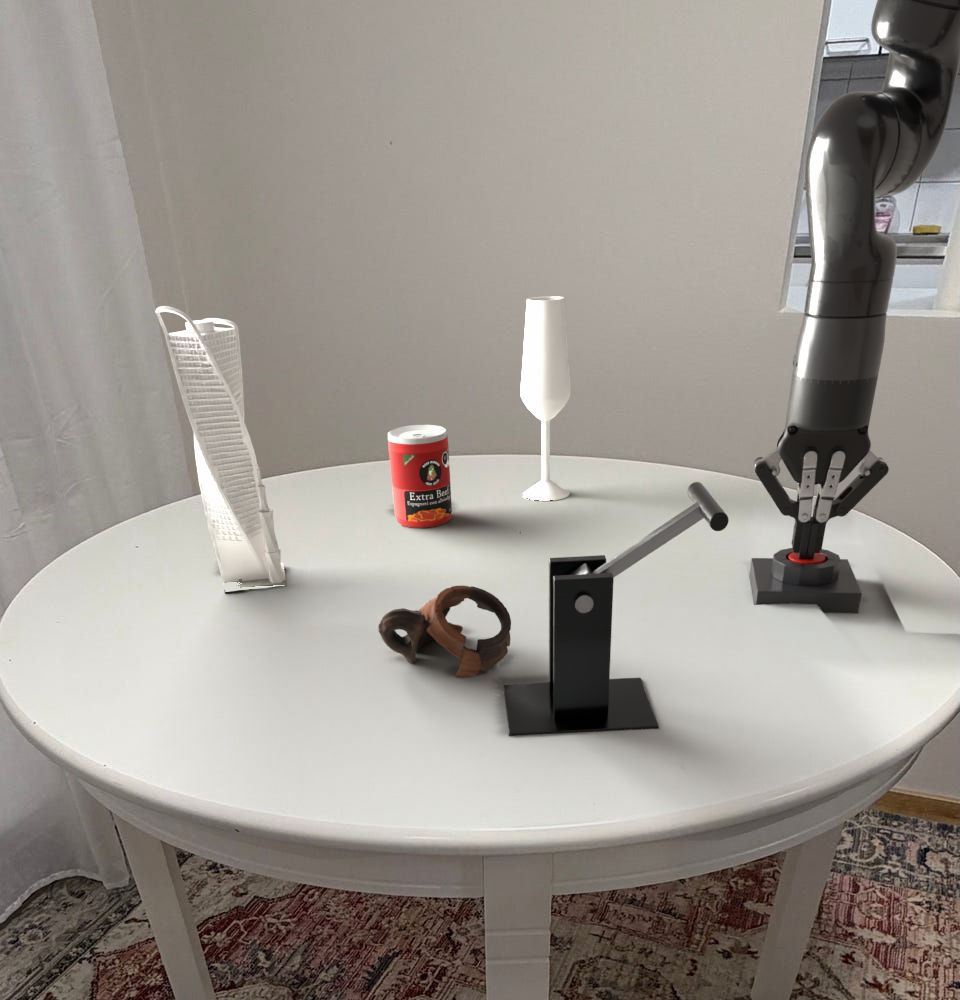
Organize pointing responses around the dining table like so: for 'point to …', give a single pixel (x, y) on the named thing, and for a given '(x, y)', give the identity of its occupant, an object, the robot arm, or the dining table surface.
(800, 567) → the housing
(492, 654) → the brown curved ring piece
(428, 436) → the canned food
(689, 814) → the dining table surface
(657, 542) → the switch lever
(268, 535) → the skyscraper
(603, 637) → the switch bracket
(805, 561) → the button
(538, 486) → the champagne flute
